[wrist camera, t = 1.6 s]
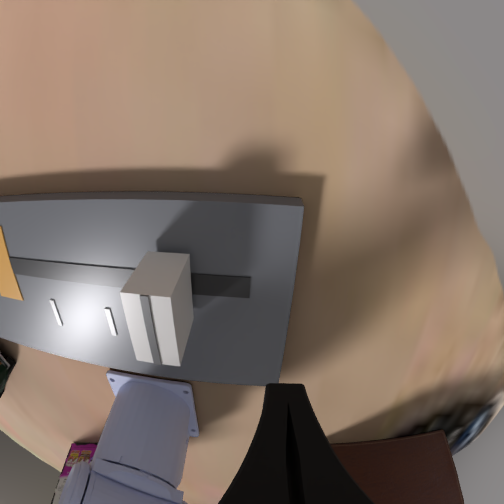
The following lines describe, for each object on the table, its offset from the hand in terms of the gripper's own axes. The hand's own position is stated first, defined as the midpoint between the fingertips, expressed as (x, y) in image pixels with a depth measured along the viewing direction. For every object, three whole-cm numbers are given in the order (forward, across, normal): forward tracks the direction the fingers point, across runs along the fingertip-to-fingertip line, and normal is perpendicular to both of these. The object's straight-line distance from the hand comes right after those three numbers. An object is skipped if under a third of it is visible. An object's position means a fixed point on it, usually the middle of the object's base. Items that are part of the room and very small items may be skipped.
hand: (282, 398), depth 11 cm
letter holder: (+10, -15, +28) cm, 33 cm away
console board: (+9, +14, +2) cm, 17 cm away
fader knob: (+7, +6, 0) cm, 9 cm away
